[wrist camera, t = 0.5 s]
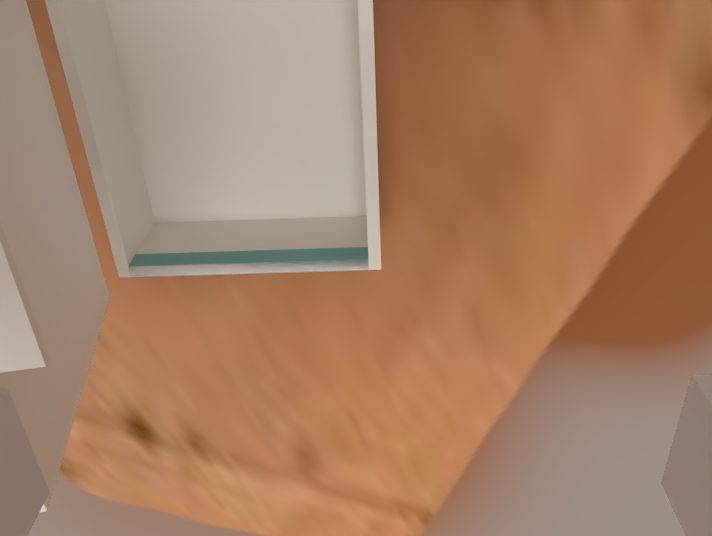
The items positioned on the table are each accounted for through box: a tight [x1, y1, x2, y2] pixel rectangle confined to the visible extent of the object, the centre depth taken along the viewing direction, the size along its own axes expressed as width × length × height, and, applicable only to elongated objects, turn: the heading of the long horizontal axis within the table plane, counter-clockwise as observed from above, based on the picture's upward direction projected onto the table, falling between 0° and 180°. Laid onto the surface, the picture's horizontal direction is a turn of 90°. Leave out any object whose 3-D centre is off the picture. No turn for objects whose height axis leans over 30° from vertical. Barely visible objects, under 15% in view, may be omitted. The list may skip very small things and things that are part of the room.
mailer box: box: [45, 0, 381, 277], centre depth 31 cm, size 16×13×5 cm
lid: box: [0, 0, 110, 512], centre depth 23 cm, size 18×13×2 cm
